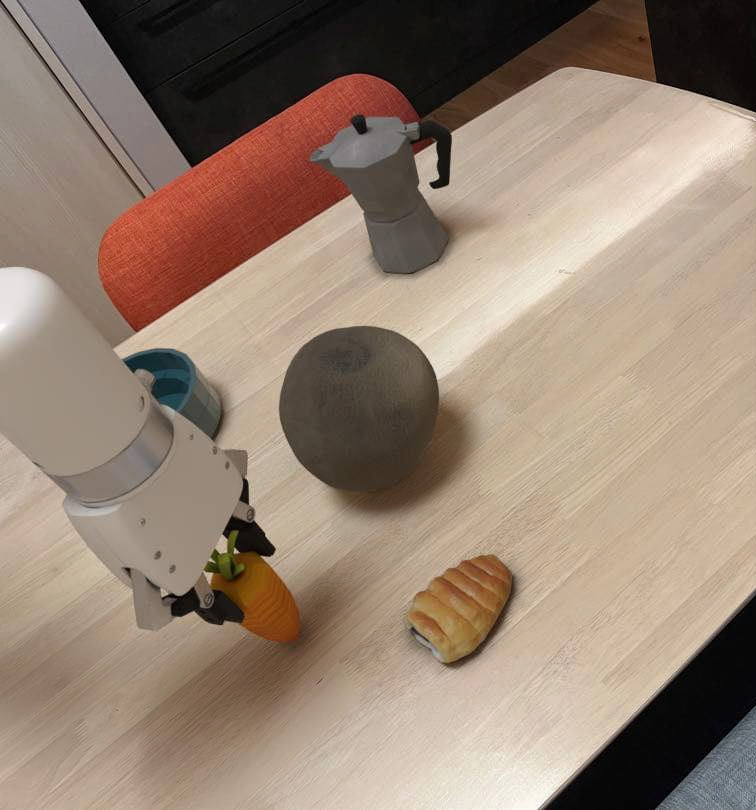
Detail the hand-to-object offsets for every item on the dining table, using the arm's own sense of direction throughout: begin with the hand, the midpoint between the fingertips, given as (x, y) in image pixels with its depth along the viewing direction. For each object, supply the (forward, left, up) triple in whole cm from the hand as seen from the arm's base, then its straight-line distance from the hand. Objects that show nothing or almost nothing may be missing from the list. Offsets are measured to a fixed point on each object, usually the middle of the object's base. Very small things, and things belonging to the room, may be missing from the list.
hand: (242, 582), depth 70 cm
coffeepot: (-5, +49, -10) cm, 50 cm away
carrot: (0, 0, -10) cm, 10 cm away
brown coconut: (+2, +19, -10) cm, 22 cm away
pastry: (+14, +4, -10) cm, 18 cm away
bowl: (-25, +20, -10) cm, 33 cm away
